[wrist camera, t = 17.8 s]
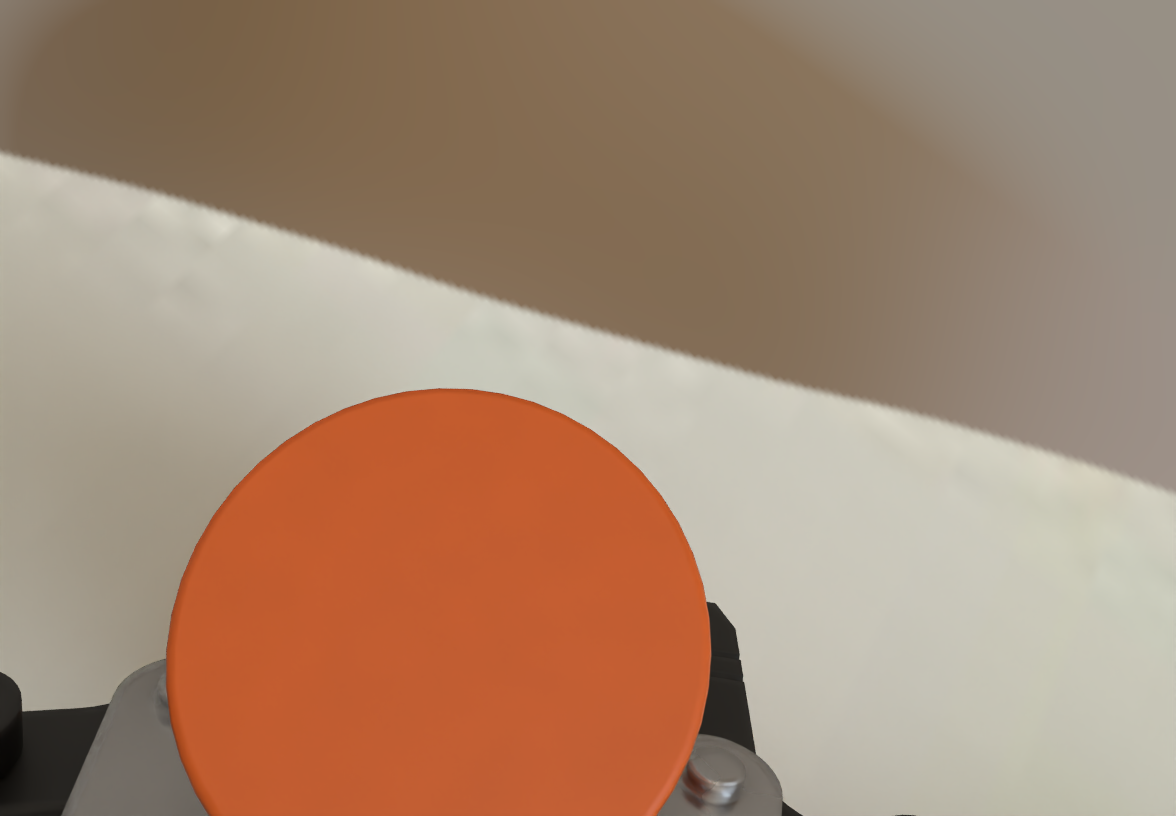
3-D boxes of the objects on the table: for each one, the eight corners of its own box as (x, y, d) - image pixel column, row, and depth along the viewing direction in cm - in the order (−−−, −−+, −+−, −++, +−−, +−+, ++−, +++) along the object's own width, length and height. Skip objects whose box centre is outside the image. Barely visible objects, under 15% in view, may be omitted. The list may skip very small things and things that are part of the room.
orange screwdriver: (431, 922, 19) (282, 1057, 5) (366, 761, 20) (88, 506, 6) (584, 838, 19) (813, 759, 6) (513, 688, 20) (567, 312, 7)
